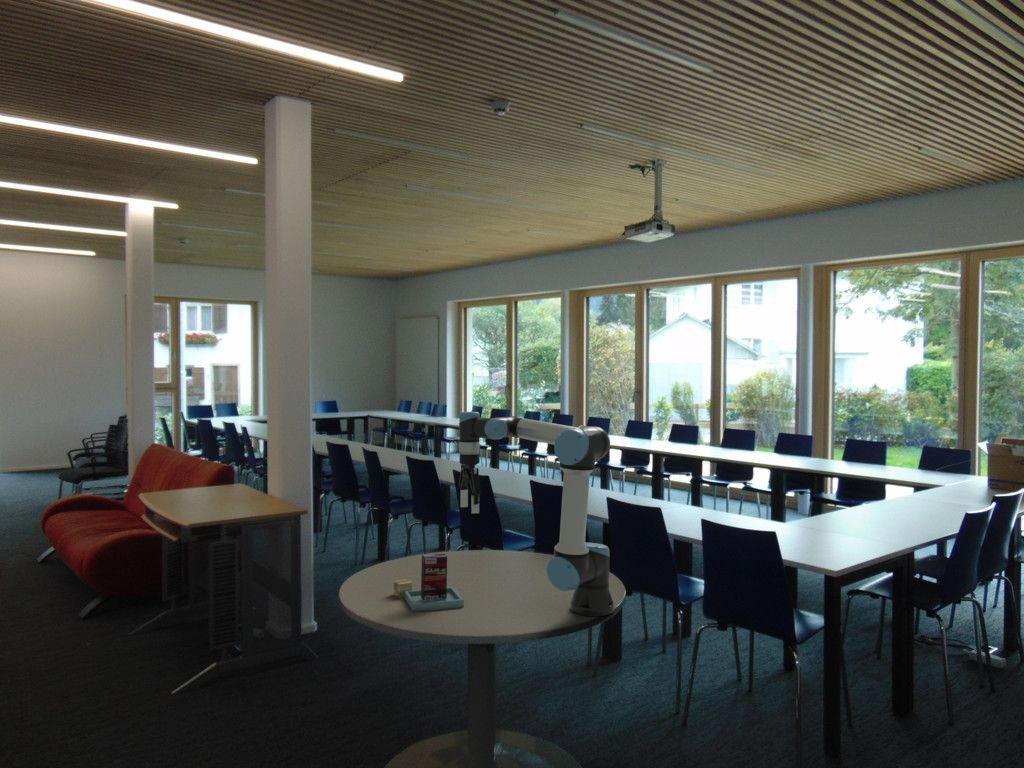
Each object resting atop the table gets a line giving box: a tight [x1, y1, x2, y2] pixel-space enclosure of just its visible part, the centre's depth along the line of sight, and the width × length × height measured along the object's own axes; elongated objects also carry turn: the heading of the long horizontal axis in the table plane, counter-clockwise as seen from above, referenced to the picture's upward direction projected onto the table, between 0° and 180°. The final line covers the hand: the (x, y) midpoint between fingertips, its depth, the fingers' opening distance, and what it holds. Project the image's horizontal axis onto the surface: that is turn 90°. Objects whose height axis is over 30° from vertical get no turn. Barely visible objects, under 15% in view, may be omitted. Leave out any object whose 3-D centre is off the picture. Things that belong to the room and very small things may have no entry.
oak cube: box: [393, 578, 413, 599], centre depth 276 cm, size 5×5×5 cm
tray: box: [404, 586, 465, 613], centre depth 268 cm, size 16×18×2 cm
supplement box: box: [420, 553, 448, 602], centre depth 267 cm, size 9×5×16 cm, turn 109°
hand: (469, 510), depth 279 cm, fingers open, 13 cm apart
